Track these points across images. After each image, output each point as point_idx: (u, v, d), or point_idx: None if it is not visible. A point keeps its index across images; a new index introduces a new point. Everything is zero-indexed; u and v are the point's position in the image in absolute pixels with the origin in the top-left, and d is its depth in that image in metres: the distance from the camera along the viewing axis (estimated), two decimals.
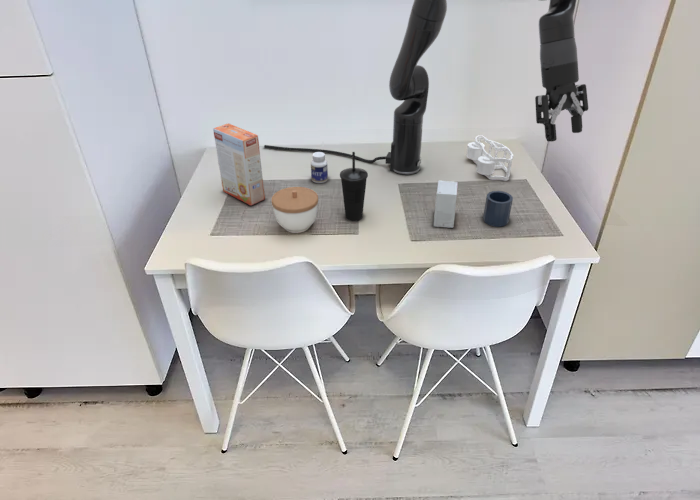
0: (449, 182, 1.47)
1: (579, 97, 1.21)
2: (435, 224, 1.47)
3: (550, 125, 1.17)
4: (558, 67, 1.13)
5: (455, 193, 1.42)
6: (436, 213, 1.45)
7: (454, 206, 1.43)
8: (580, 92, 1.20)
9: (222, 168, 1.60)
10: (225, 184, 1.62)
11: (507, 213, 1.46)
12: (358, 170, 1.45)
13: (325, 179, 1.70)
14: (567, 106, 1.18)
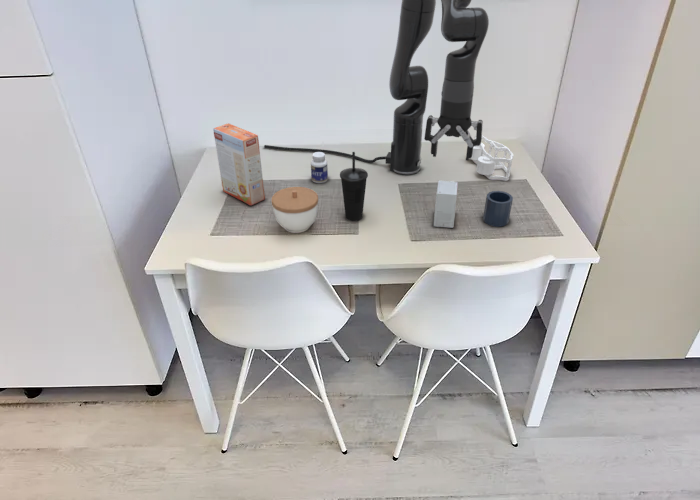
0: (449, 182, 1.47)
1: None
2: (435, 224, 1.47)
3: (432, 143, 1.38)
4: (443, 101, 1.30)
5: (455, 193, 1.42)
6: (436, 213, 1.45)
7: (454, 206, 1.43)
8: (475, 128, 1.33)
9: (222, 168, 1.60)
10: (225, 184, 1.62)
11: (507, 213, 1.46)
12: (358, 170, 1.45)
13: (325, 179, 1.70)
14: (454, 135, 1.35)
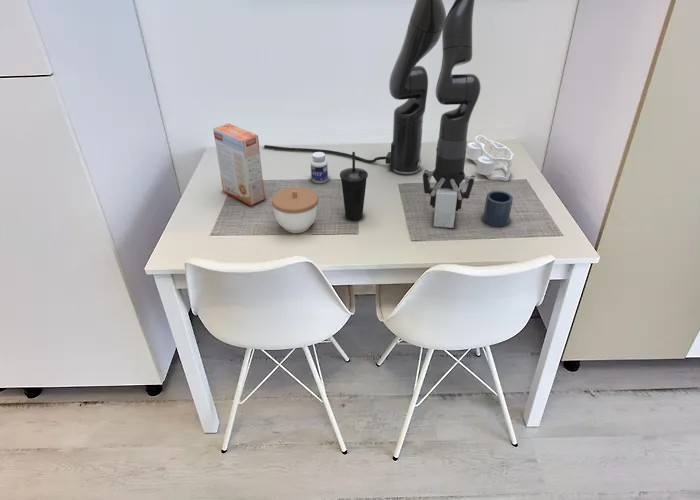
0: None
1: None
2: (435, 224, 1.47)
3: (431, 196, 1.47)
4: (438, 157, 1.38)
5: (455, 193, 1.42)
6: (436, 213, 1.45)
7: (454, 206, 1.43)
8: (466, 182, 1.42)
9: (222, 168, 1.60)
10: (225, 184, 1.62)
11: (507, 213, 1.46)
12: (358, 170, 1.45)
13: (325, 179, 1.70)
14: (448, 186, 1.43)
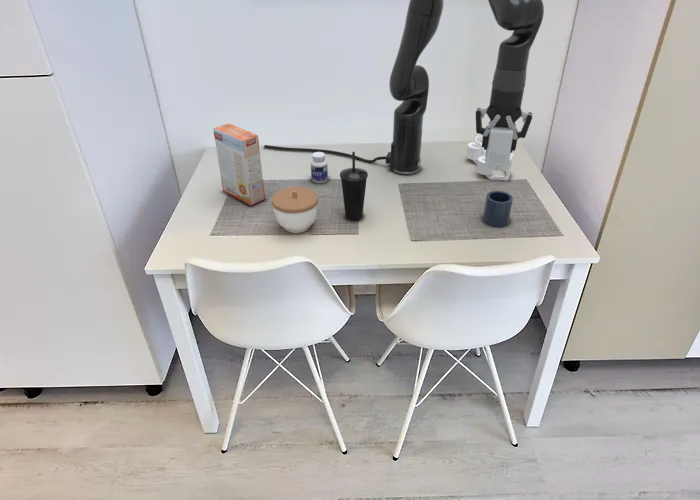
0: None
1: (524, 123, 1.33)
2: (487, 167, 1.37)
3: (484, 136, 1.37)
4: (494, 90, 1.28)
5: (511, 131, 1.32)
6: (489, 154, 1.35)
7: (509, 146, 1.33)
8: (524, 119, 1.31)
9: (222, 168, 1.60)
10: (225, 184, 1.62)
11: (507, 213, 1.46)
12: (358, 170, 1.45)
13: (325, 179, 1.70)
14: (503, 125, 1.33)
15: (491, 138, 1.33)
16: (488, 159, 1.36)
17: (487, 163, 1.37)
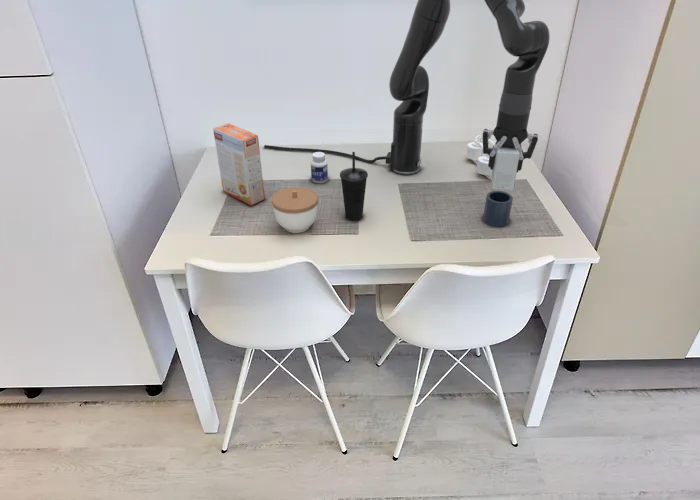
0: None
1: (530, 144, 1.36)
2: (494, 186, 1.41)
3: (490, 156, 1.40)
4: (501, 113, 1.31)
5: (517, 152, 1.35)
6: (496, 174, 1.39)
7: (516, 166, 1.36)
8: (529, 141, 1.35)
9: (222, 168, 1.60)
10: (225, 184, 1.62)
11: (507, 213, 1.46)
12: (358, 170, 1.45)
13: (325, 179, 1.70)
14: (509, 146, 1.37)
15: (498, 159, 1.36)
16: (495, 179, 1.39)
17: (494, 182, 1.40)
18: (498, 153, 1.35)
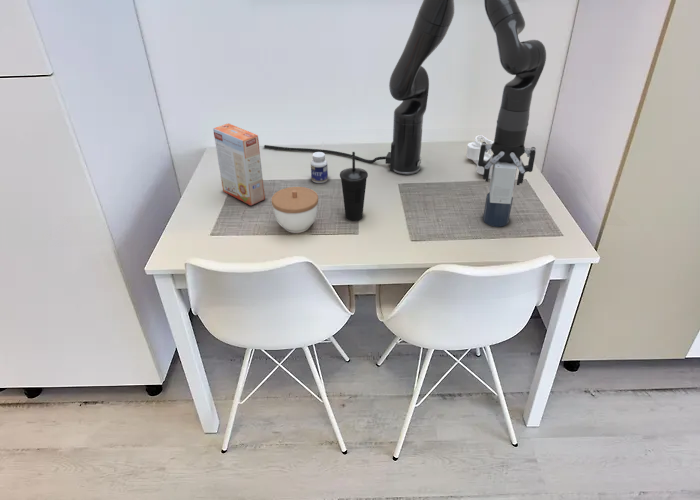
0: None
1: (529, 158, 1.38)
2: (492, 200, 1.43)
3: (485, 168, 1.42)
4: (499, 129, 1.34)
5: (514, 167, 1.37)
6: (493, 188, 1.41)
7: (513, 181, 1.39)
8: (528, 155, 1.37)
9: (222, 168, 1.60)
10: (225, 184, 1.62)
11: (507, 213, 1.46)
12: (358, 170, 1.45)
13: (325, 179, 1.70)
14: (507, 161, 1.39)
15: (495, 173, 1.39)
16: (492, 193, 1.42)
17: (491, 196, 1.42)
18: (496, 168, 1.38)
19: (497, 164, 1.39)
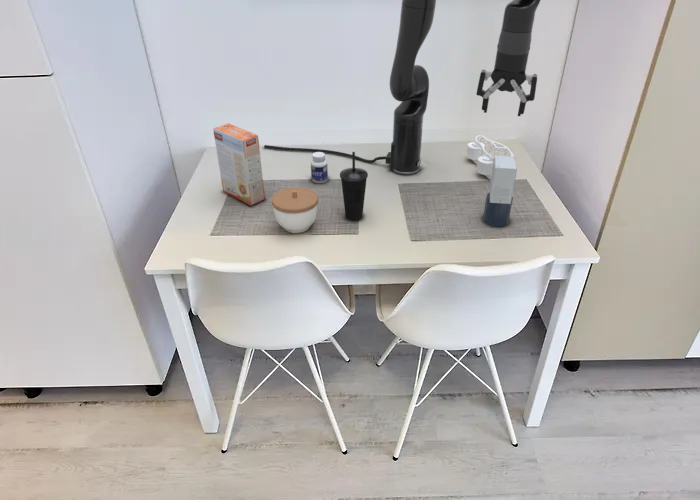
0: (506, 157, 1.43)
1: None
2: (492, 200, 1.43)
3: (484, 98, 1.37)
4: (499, 54, 1.28)
5: (514, 167, 1.37)
6: (493, 188, 1.41)
7: (513, 181, 1.39)
8: (529, 82, 1.32)
9: (222, 168, 1.60)
10: (225, 184, 1.62)
11: (507, 213, 1.46)
12: (358, 170, 1.45)
13: (325, 179, 1.70)
14: (507, 89, 1.34)
15: (495, 173, 1.39)
16: (492, 193, 1.42)
17: (491, 196, 1.42)
18: (496, 168, 1.38)
19: (497, 164, 1.39)
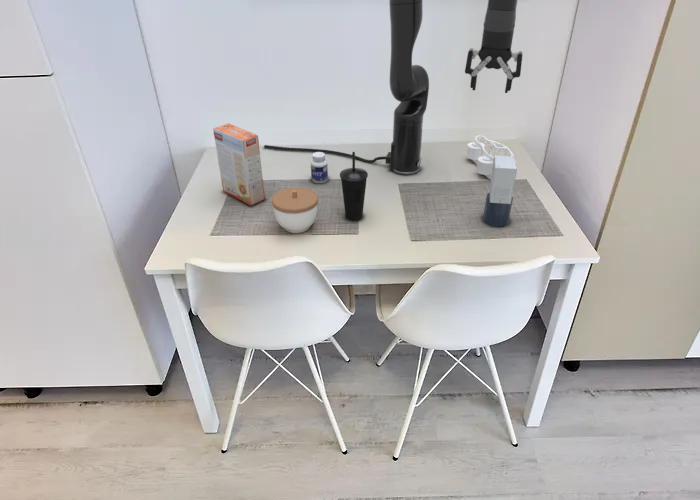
0: (506, 157, 1.43)
1: None
2: (492, 200, 1.43)
3: (472, 76, 1.43)
4: (485, 32, 1.34)
5: (514, 167, 1.37)
6: (493, 188, 1.41)
7: (513, 181, 1.39)
8: (515, 59, 1.37)
9: (222, 168, 1.60)
10: (225, 184, 1.62)
11: (507, 213, 1.46)
12: (358, 170, 1.45)
13: (325, 179, 1.70)
14: (494, 67, 1.39)
15: (495, 173, 1.39)
16: (492, 193, 1.42)
17: (491, 196, 1.42)
18: (496, 168, 1.38)
19: (497, 164, 1.39)
